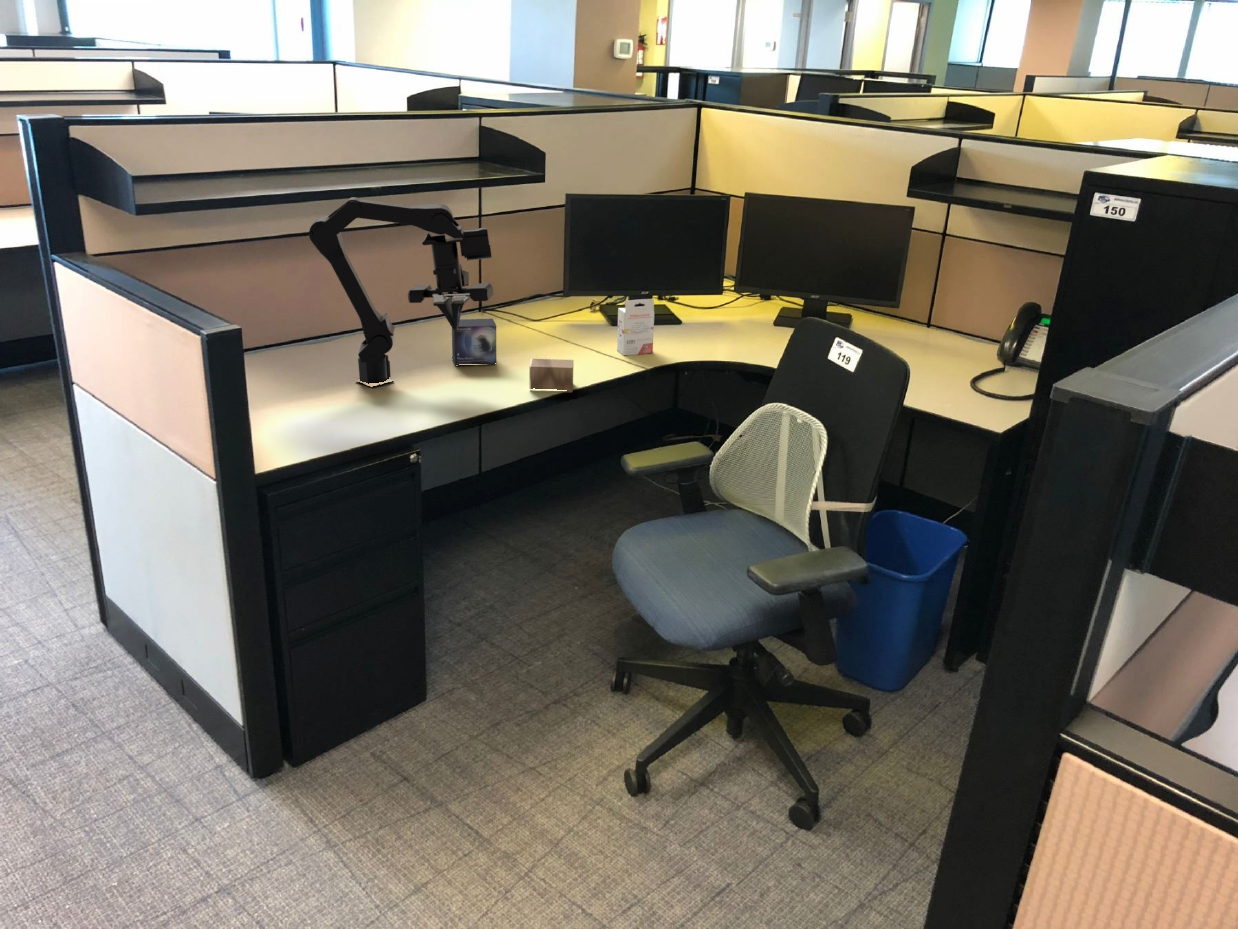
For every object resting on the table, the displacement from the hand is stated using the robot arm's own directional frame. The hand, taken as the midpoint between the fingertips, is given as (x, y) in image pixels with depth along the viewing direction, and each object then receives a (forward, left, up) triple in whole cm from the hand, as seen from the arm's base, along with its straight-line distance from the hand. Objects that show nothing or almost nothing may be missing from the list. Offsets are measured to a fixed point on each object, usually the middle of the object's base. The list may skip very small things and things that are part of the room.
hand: (455, 329), depth 223 cm
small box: (+13, +8, -13) cm, 20 cm away
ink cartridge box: (+49, -15, -13) cm, 53 cm away
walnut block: (+9, -15, -10) cm, 20 cm away
